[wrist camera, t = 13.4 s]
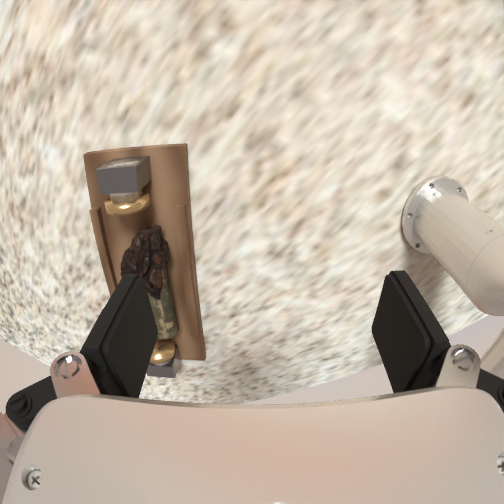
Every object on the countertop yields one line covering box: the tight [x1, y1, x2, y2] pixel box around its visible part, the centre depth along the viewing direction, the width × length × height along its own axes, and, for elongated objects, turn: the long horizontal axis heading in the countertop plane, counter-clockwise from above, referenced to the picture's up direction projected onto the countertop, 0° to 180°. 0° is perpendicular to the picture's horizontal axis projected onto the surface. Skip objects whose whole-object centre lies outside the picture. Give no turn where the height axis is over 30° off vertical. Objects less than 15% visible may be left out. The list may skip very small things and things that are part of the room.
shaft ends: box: [96, 156, 180, 378], centre depth 41 cm, size 6×35×6 cm, turn 179°
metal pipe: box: [120, 225, 179, 339], centre depth 41 cm, size 18×7×6 cm, turn 177°
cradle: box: [83, 144, 206, 360], centre depth 44 cm, size 14×37×3 cm, turn 179°
